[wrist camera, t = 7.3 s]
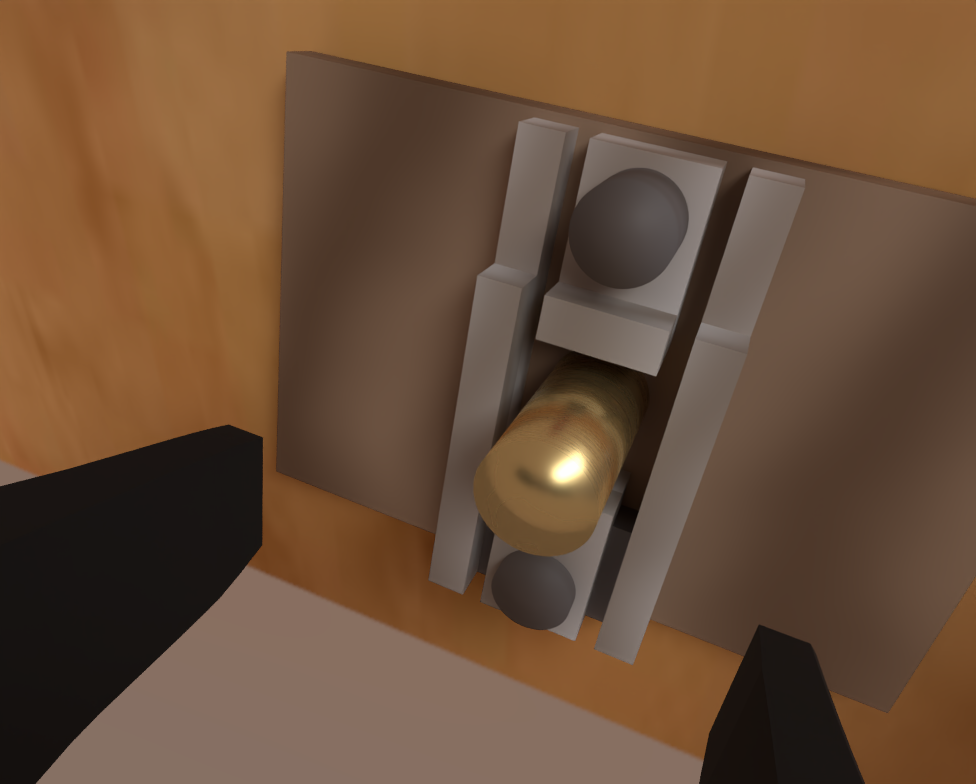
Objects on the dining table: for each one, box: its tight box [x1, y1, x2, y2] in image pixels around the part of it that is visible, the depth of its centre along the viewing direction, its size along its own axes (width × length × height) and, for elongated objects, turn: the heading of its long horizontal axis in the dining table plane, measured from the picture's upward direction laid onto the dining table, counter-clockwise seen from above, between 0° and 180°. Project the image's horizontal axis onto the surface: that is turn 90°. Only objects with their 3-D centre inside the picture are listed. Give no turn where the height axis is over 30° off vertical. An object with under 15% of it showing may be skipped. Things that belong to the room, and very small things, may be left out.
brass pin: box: [473, 351, 649, 556], centre depth 16 cm, size 2×2×5 cm
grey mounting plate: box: [276, 51, 976, 713], centre depth 17 cm, size 18×12×4 cm, turn 80°
